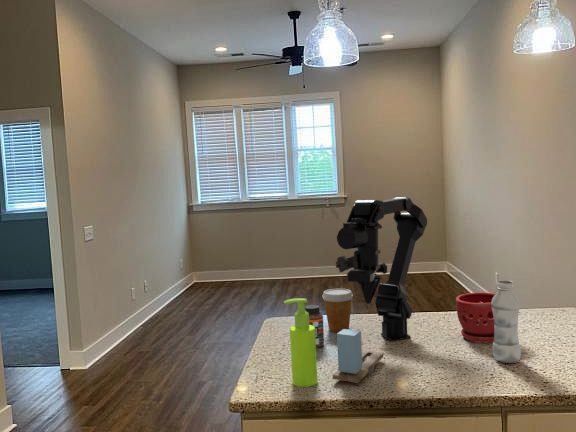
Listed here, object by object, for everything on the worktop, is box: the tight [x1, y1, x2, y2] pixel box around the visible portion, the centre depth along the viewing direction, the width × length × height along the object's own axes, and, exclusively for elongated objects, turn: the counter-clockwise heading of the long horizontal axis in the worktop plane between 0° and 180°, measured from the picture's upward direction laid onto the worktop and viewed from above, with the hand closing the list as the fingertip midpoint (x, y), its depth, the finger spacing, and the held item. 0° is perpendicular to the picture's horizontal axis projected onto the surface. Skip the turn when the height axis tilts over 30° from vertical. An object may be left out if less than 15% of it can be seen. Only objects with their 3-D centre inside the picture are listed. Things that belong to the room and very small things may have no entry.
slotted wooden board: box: [332, 349, 384, 384], centre depth 128 cm, size 18×6×2 cm, turn 151°
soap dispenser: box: [283, 297, 318, 388], centre depth 122 cm, size 6×7×20 cm
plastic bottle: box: [491, 280, 522, 364], centre depth 129 cm, size 6×7×20 cm
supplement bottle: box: [305, 304, 325, 349], centre depth 149 cm, size 6×6×11 cm
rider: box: [336, 328, 363, 375], centre depth 122 cm, size 4×4×10 cm
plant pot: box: [455, 292, 496, 344], centre depth 147 cm, size 13×13×12 cm
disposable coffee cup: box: [321, 288, 354, 333], centre depth 163 cm, size 10×10×12 cm
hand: (368, 303), depth 142 cm, fingers closed
